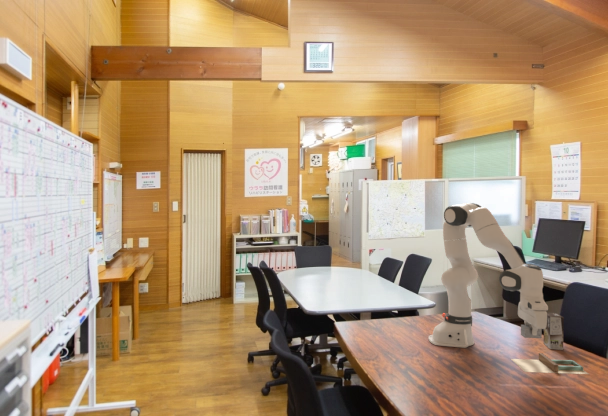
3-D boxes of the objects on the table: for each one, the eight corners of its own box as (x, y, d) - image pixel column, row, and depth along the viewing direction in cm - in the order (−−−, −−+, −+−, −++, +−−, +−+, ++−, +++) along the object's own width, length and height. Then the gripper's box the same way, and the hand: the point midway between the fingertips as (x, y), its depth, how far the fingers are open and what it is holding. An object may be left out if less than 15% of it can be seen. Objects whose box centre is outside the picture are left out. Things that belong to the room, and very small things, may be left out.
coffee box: (563, 350, 209) (564, 317, 209) (549, 349, 211) (549, 316, 210) (556, 344, 218) (557, 312, 218) (543, 343, 219) (543, 311, 219)
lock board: (524, 373, 180) (524, 364, 180) (510, 360, 195) (510, 351, 195) (589, 376, 178) (589, 366, 178) (570, 362, 193) (570, 353, 193)
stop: (541, 338, 185) (541, 327, 185) (524, 337, 185) (524, 327, 185) (537, 335, 189) (537, 325, 189) (520, 334, 189) (521, 324, 189)
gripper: (514, 296, 198) (513, 325, 198) (534, 307, 177) (533, 340, 177) (528, 296, 197) (528, 326, 197) (550, 307, 177) (549, 340, 177)
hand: (531, 333), depth 187 cm, fingers closed on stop, 4 cm apart
